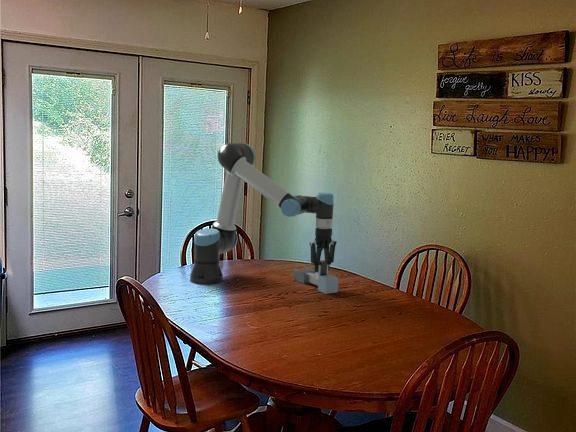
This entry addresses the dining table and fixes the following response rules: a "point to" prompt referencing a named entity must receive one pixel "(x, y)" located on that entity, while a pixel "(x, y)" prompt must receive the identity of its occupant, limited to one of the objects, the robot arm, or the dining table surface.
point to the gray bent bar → (311, 276)
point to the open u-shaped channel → (302, 275)
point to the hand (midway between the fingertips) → (321, 278)
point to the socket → (328, 284)
